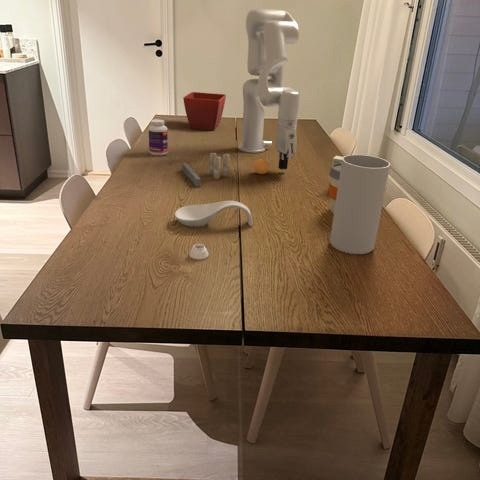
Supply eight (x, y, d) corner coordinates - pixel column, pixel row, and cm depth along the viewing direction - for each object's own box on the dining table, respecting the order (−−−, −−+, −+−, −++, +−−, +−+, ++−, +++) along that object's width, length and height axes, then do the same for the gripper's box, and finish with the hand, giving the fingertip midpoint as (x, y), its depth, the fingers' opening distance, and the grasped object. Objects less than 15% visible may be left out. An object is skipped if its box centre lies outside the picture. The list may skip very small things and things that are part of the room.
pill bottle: (166, 156, 210) (165, 123, 204) (147, 155, 210) (146, 122, 204) (169, 151, 218) (168, 119, 211) (151, 150, 218) (150, 118, 211)
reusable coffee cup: (317, 210, 164) (323, 166, 158) (337, 201, 172) (343, 160, 166) (349, 221, 156) (357, 176, 150) (369, 212, 165) (377, 169, 159)
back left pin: (218, 177, 189) (219, 156, 185) (220, 179, 187) (221, 157, 183) (212, 178, 188) (213, 156, 184) (214, 179, 186) (215, 158, 182)
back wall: (186, 170, 195) (186, 162, 194) (200, 186, 178) (200, 178, 177) (182, 170, 194) (182, 163, 193) (196, 187, 178) (196, 179, 176)
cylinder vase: (365, 260, 133) (382, 171, 122) (322, 247, 138) (335, 161, 128) (379, 244, 142) (396, 160, 132) (339, 232, 148) (351, 152, 137)
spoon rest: (174, 231, 143) (174, 209, 140) (174, 216, 153) (174, 194, 150) (254, 232, 146) (256, 209, 143) (249, 216, 156) (250, 195, 153)
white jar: (212, 256, 130) (198, 250, 133) (212, 246, 129) (198, 240, 132) (199, 262, 126) (185, 256, 129) (199, 252, 125) (185, 246, 128)
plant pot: (182, 129, 257) (182, 97, 250) (191, 122, 274) (192, 91, 267) (218, 133, 255) (219, 100, 247) (225, 125, 272) (226, 94, 264)
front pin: (227, 174, 193) (228, 153, 189) (229, 176, 191) (230, 155, 187) (221, 175, 192) (222, 154, 188) (223, 177, 190) (224, 155, 186)
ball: (264, 171, 200) (265, 156, 197) (270, 175, 195) (272, 161, 192) (251, 171, 198) (252, 157, 195) (256, 176, 193) (257, 161, 190)
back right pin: (214, 173, 193) (215, 152, 189) (216, 175, 191) (217, 154, 187) (208, 174, 192) (209, 152, 189) (210, 175, 190) (211, 154, 187)
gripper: (304, 127, 186) (299, 173, 194) (287, 119, 198) (283, 163, 206) (286, 127, 183) (282, 174, 191) (270, 119, 196) (266, 163, 204)
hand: (282, 168), depth 199 cm, fingers closed
